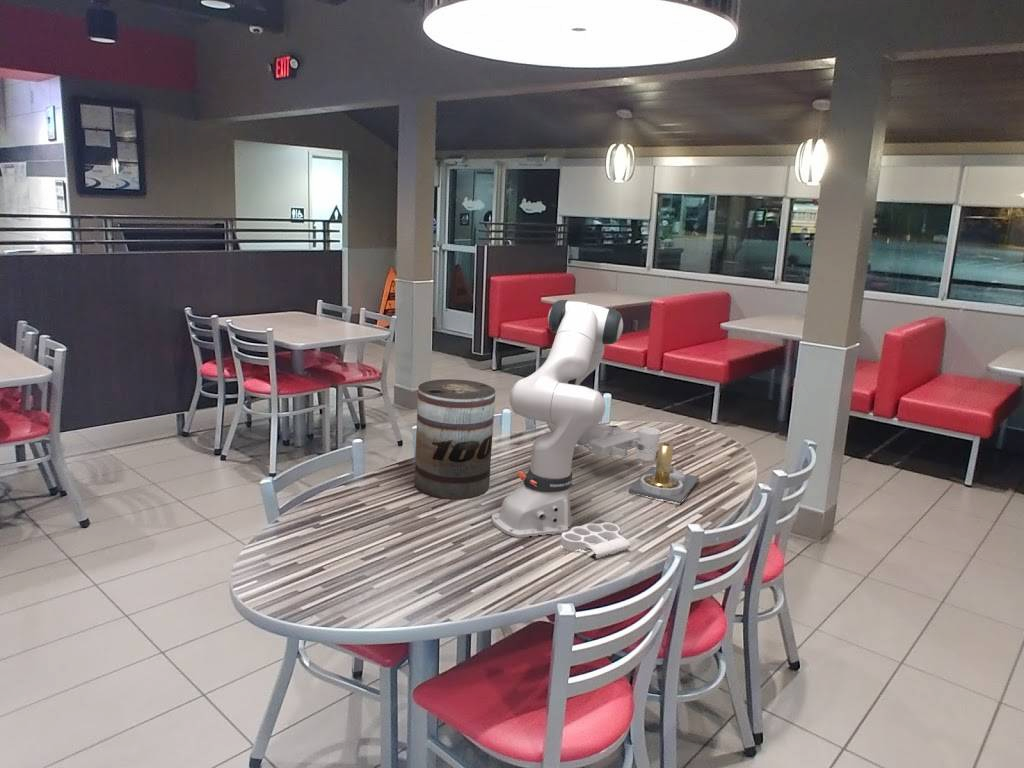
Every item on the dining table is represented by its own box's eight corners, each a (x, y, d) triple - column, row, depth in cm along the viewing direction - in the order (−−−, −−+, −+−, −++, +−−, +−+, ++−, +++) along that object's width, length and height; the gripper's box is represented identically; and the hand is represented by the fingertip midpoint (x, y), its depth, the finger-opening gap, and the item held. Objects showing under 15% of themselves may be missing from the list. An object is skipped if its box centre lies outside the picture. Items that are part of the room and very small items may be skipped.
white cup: (631, 458, 263) (634, 430, 261) (638, 452, 270) (641, 425, 268) (653, 463, 260) (656, 435, 257) (659, 457, 267) (663, 430, 264)
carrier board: (679, 505, 225) (682, 488, 223) (628, 493, 231) (630, 476, 230) (698, 481, 246) (700, 465, 244) (651, 470, 252) (653, 455, 251)
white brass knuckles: (585, 565, 185) (549, 541, 197) (638, 550, 195) (601, 528, 207) (586, 553, 184) (550, 529, 196) (640, 538, 194) (602, 516, 206)
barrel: (465, 506, 213) (471, 404, 206) (399, 487, 223) (402, 389, 215) (502, 482, 233) (508, 388, 225) (440, 466, 242) (444, 375, 235)
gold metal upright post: (659, 494, 228) (665, 450, 225) (641, 484, 235) (646, 441, 232) (680, 490, 233) (686, 447, 229) (661, 480, 240) (667, 438, 236)
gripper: (581, 435, 241) (616, 447, 231) (620, 424, 255) (654, 435, 245) (579, 453, 242) (613, 466, 233) (618, 442, 256) (652, 453, 247)
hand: (635, 450), depth 239 cm, fingers open, 8 cm apart
